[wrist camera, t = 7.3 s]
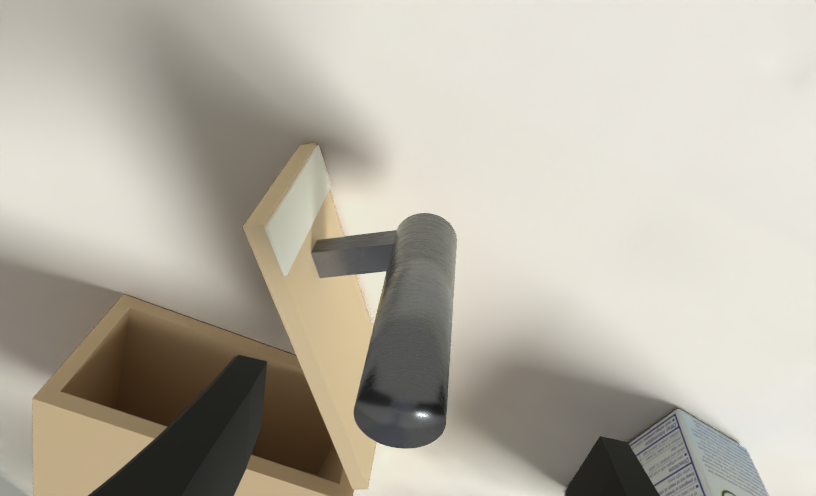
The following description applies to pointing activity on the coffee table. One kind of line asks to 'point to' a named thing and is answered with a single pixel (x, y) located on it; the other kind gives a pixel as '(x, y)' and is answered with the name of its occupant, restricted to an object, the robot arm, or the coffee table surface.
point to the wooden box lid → (359, 313)
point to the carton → (171, 406)
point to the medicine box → (695, 460)
